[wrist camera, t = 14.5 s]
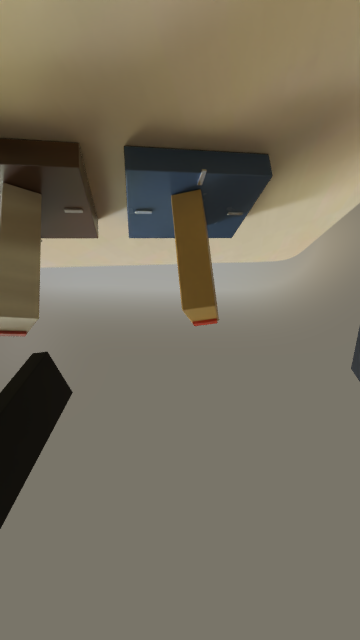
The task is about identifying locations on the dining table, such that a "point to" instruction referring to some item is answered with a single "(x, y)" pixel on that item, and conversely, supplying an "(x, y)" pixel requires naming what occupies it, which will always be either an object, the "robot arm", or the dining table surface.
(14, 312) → the beige flat block
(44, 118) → the dining table surface
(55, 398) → the robot arm
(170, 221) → the blue base
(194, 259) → the red-tipped wooden block
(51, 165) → the walnut base
